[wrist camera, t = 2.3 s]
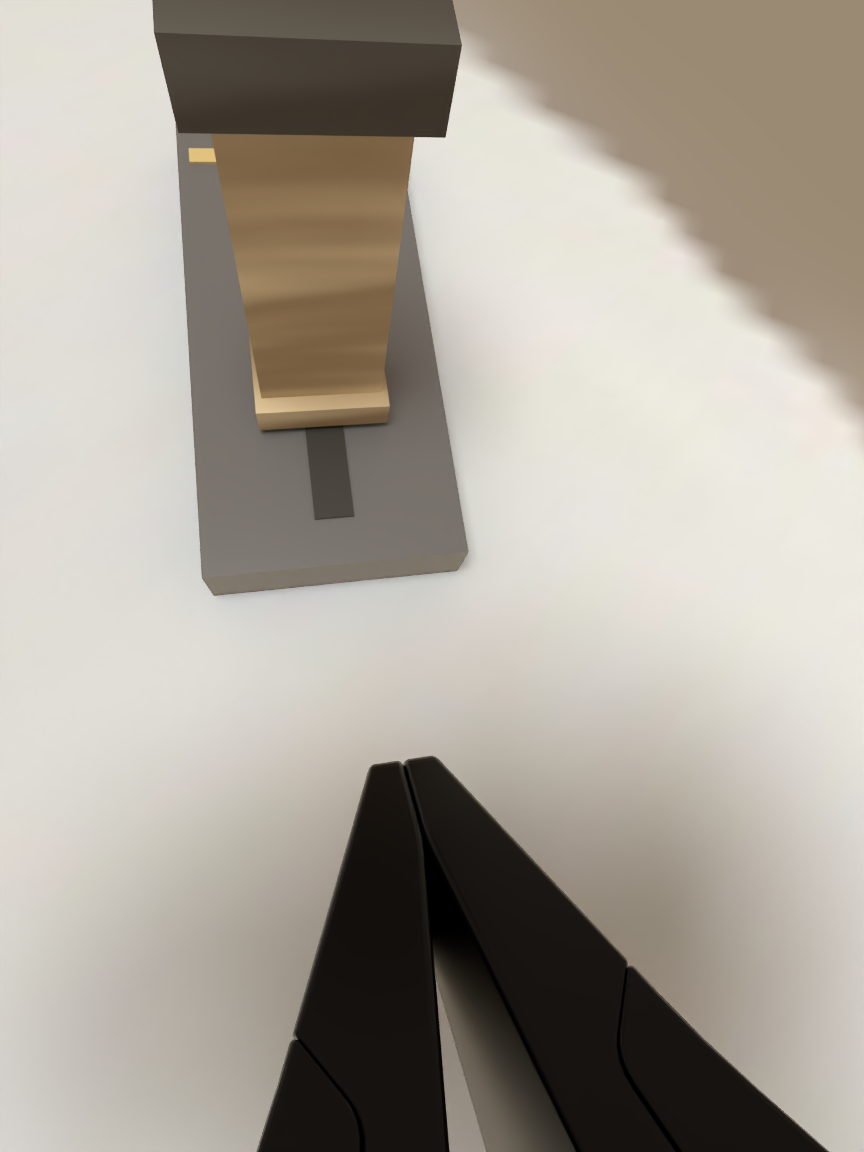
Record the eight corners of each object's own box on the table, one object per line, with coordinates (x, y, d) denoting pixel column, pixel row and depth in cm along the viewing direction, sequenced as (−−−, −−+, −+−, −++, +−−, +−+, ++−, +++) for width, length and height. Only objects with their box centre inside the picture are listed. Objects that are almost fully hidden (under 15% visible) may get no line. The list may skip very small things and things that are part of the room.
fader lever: (396, 421, 21) (463, 55, 10) (249, 431, 20) (155, 43, 10) (384, 341, 22) (435, -80, 11) (242, 346, 21) (147, -101, 10)
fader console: (456, 570, 23) (468, 551, 21) (213, 595, 21) (201, 577, 19) (389, 153, 27) (393, 105, 25) (186, 151, 26) (173, 100, 24)
